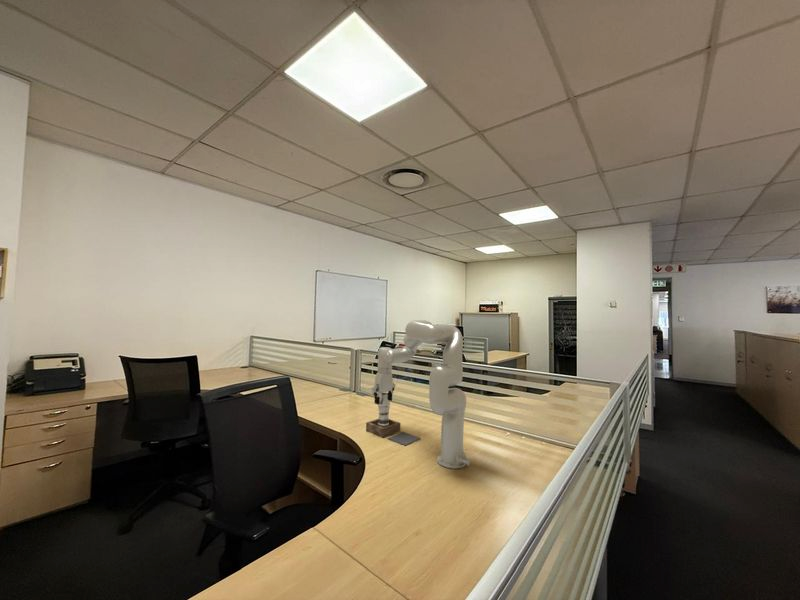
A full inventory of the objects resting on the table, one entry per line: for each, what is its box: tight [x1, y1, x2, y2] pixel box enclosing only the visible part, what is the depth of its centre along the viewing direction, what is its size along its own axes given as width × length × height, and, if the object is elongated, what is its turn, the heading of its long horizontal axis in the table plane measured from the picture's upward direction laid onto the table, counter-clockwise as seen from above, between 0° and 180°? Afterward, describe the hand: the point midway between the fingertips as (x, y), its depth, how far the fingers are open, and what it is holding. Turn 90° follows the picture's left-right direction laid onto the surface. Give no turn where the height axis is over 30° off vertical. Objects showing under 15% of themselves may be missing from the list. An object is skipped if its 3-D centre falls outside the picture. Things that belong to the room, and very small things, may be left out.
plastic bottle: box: [377, 392, 391, 428], centre depth 175 cm, size 6×7×20 cm
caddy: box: [365, 418, 401, 439], centre depth 174 cm, size 13×13×4 cm
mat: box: [386, 431, 422, 447], centre depth 164 cm, size 12×12×1 cm
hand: (383, 402), depth 175 cm, fingers open, 9 cm apart
